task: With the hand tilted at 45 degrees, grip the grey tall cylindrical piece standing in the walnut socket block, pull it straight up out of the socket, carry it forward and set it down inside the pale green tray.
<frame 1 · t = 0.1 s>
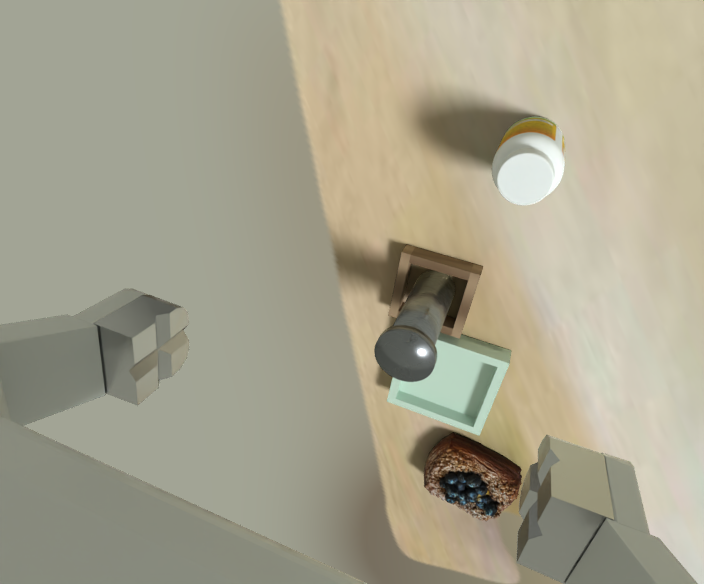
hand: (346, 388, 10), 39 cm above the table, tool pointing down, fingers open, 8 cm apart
grey tall cylindrical piece: (421, 318, 48), in the socket block
tray: (447, 371, 59), on the table
supplement bottle: (532, 146, 43), on the table
socket block: (435, 287, 53), on the table
pastry: (471, 465, 66), on the table
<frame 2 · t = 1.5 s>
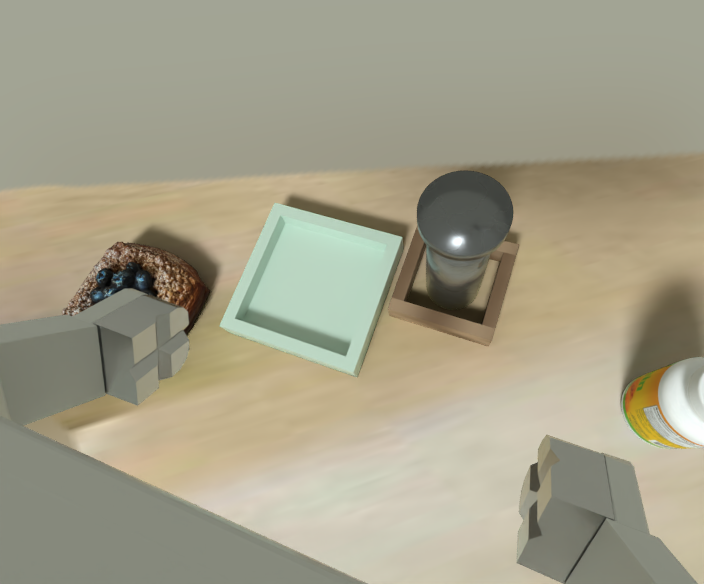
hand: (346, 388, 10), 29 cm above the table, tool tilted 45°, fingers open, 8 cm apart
grey tall cylindrical piece: (457, 254, 35), in the socket block
tray: (317, 290, 42), on the table
supplement bottle: (657, 410, 36), on the table
socket block: (452, 284, 41), on the table
pastry: (145, 315, 44), on the table
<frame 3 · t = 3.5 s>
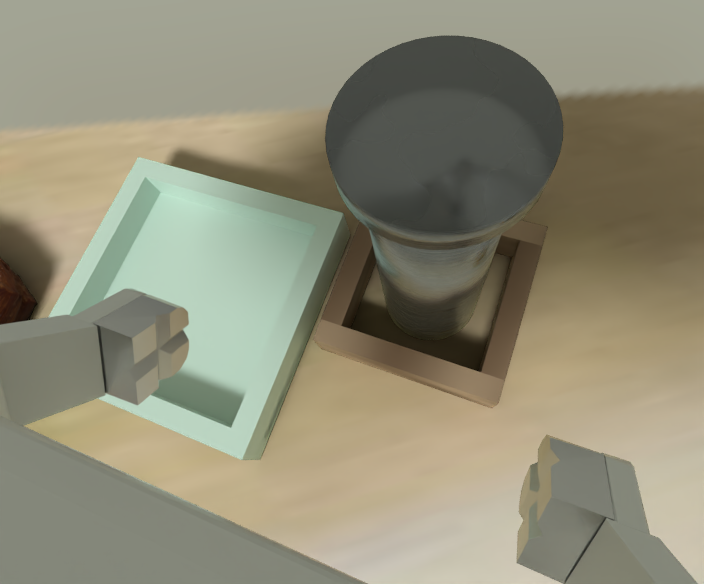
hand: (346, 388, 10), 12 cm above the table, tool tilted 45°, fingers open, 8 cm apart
grey tall cylindrical piece: (433, 240, 18), in the socket block
tray: (204, 303, 25), on the table
socket block: (430, 296, 24), on the table
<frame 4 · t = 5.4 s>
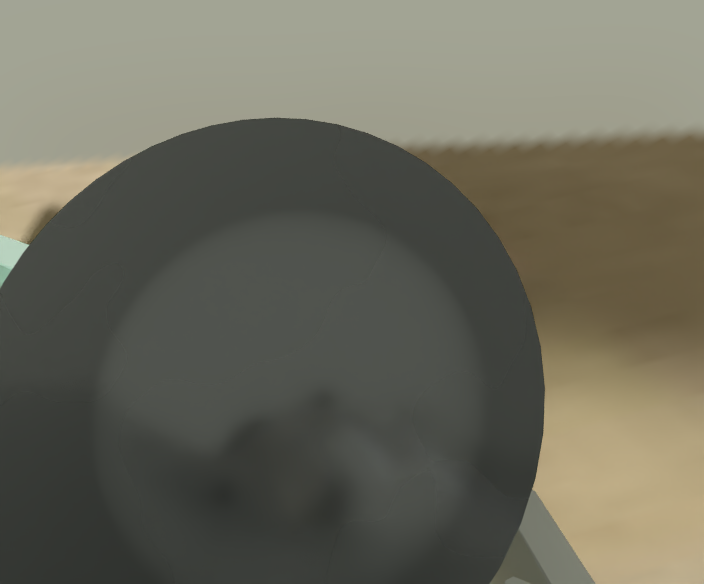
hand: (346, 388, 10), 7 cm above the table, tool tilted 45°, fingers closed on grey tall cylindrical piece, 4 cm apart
grey tall cylindrical piece: (339, 418, 11), in the socket block, touching gripper
tray: (60, 432, 18), on the table
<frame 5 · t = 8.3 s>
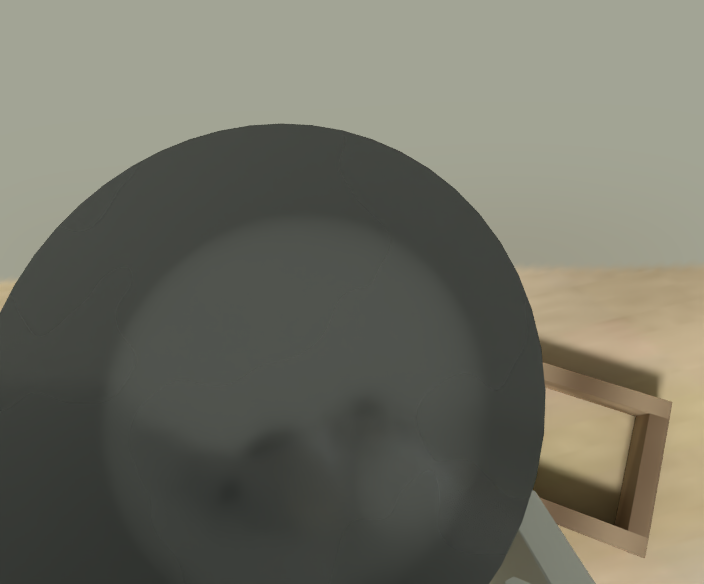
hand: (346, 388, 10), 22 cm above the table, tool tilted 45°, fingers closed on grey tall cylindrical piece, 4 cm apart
grey tall cylindrical piece: (341, 418, 11), point 21 cm above the table, touching gripper
socket block: (568, 449, 29), on the table
when the fingers open (8 cm above the table, at t = 11.2 s): grey tall cylindrical piece stays where it is, resting on tray.
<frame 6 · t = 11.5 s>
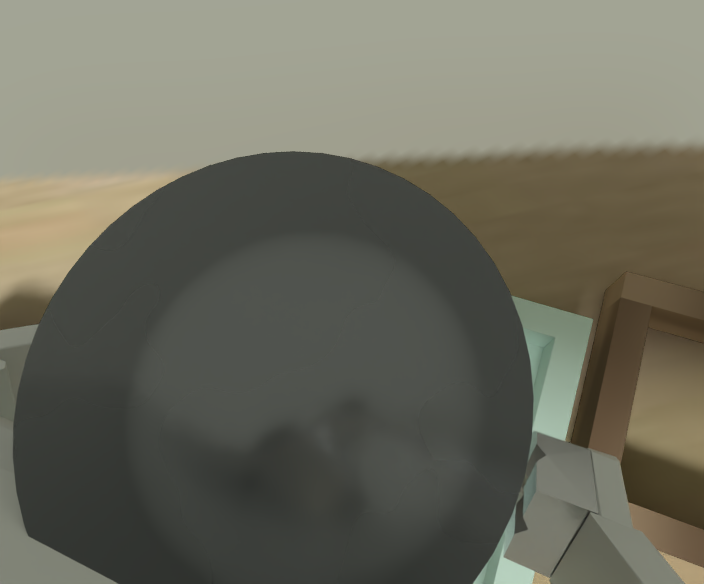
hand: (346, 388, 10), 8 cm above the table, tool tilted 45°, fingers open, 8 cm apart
grey tall cylindrical piece: (345, 420, 11), in the tray, point 7 cm above the table
tray: (371, 434, 18), on the table
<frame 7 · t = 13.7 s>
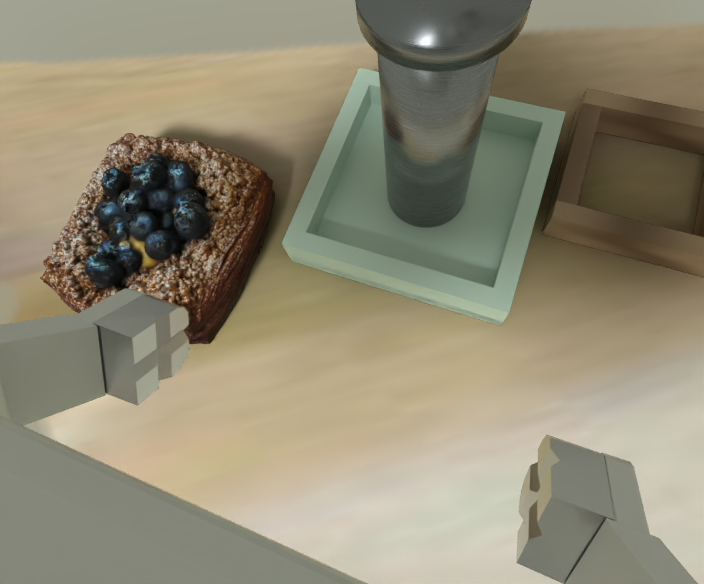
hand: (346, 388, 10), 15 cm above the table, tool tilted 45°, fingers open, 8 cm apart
grey tall cylindrical piece: (432, 115, 21), in the tray, point 7 cm above the table
tray: (424, 199, 28), on the table
socket block: (636, 189, 27), on the table
pastry: (180, 248, 29), on the table
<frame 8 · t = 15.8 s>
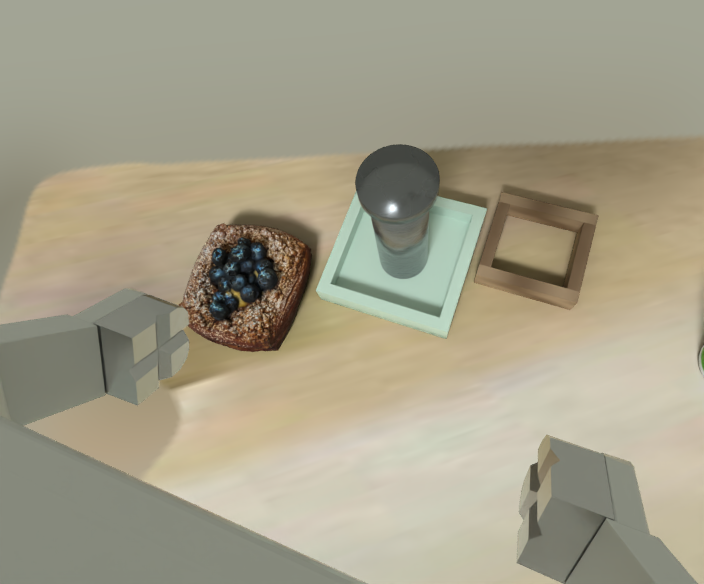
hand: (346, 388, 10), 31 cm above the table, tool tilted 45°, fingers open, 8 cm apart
grey tall cylindrical piece: (400, 224, 38), in the tray, point 7 cm above the table
tray: (402, 259, 45), on the table
socket block: (532, 253, 43), on the table
pastry: (253, 291, 47), on the table
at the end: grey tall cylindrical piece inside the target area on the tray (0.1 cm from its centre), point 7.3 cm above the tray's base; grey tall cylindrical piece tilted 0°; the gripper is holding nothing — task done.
